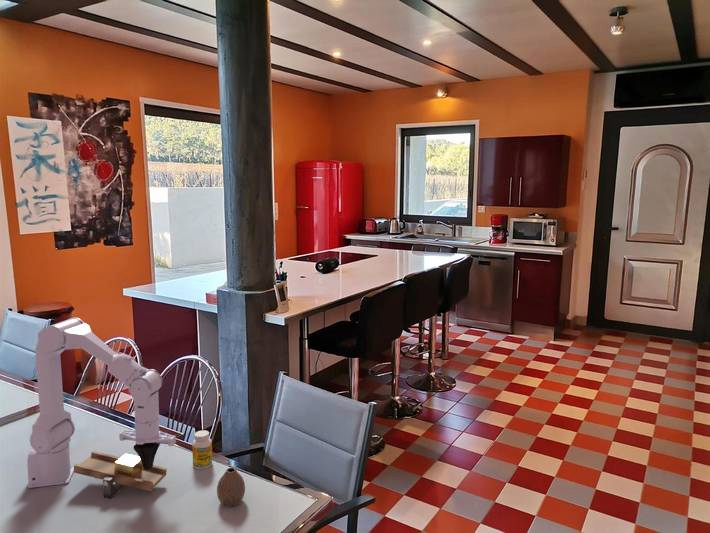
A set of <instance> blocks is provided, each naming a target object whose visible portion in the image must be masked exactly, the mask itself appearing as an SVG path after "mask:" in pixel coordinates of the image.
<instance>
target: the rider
mask: <svg viewBox="0 0 710 533" xmlns="http://www.w3.org/2000/svg"><path fill="white" fill-rule="evenodd" d="M141 470H142V462H141V459H140V457H139V455H133V454H129V453H125V454H123V455H122V456H121V458H120V459H118V460H117V461H116V462H115V470H114V473H116V474H120V475H125V476H129V477H133V478H134V477H135V476H136V475H137V474H138V473H139V472H140V471H141Z"/></svg>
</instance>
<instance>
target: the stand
mask: <svg viewBox="0 0 710 533" xmlns="http://www.w3.org/2000/svg"><path fill="white" fill-rule="evenodd" d="M125 486H126V485H123V484H119V483H115V482H113V478H110V477H105V478H104V479H103V480H102V491H103V499H112V498H113V497H114V496H115V495H117V494H118V493H119V492H120V491H121V490H122V489H123V488H124V487H125ZM118 491H119V492H118Z"/></svg>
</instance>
